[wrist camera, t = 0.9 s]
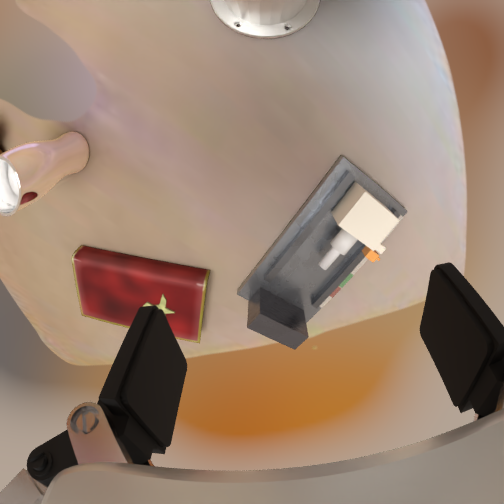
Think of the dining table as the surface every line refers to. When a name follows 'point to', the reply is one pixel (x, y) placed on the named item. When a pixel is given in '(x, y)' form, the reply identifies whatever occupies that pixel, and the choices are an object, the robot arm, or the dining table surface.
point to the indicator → (370, 254)
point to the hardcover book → (139, 289)
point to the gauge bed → (307, 260)
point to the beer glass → (38, 169)
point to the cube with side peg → (359, 223)
